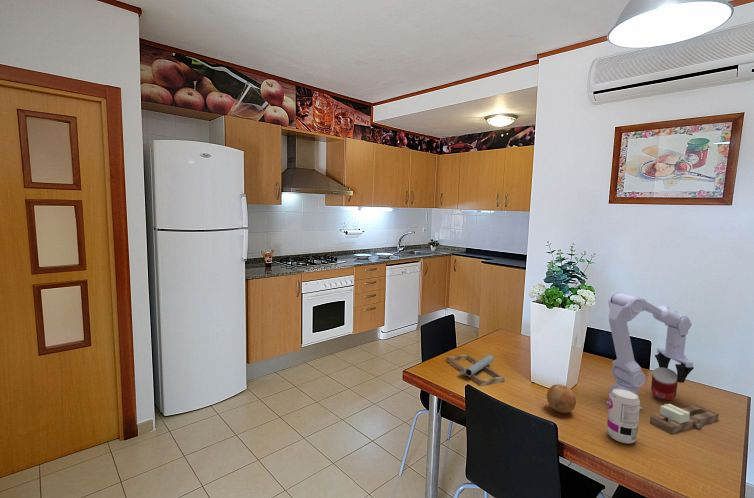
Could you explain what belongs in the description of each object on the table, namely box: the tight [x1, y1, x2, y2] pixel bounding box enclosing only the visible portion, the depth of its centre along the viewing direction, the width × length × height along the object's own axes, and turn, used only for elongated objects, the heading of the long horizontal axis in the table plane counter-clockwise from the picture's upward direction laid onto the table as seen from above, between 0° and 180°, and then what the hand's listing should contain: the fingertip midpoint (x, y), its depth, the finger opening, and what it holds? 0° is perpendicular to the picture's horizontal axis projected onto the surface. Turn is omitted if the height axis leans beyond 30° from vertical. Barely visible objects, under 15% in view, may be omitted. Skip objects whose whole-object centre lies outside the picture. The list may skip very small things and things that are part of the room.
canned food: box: [650, 367, 679, 401], centre depth 146 cm, size 8×8×11 cm
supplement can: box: [606, 389, 641, 445], centre depth 120 cm, size 8×8×15 cm
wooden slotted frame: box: [649, 404, 720, 435], centre depth 131 cm, size 26×10×2 cm, turn 111°
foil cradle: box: [445, 354, 506, 387], centre depth 170 cm, size 12×28×2 cm, turn 21°
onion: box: [546, 383, 577, 414], centre depth 136 cm, size 10×10×10 cm
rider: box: [659, 403, 690, 423], centre depth 129 cm, size 5×6×6 cm
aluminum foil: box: [458, 354, 495, 377], centre depth 169 cm, size 23×7×3 cm, turn 139°
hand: (671, 377), depth 145 cm, fingers open, 7 cm apart
